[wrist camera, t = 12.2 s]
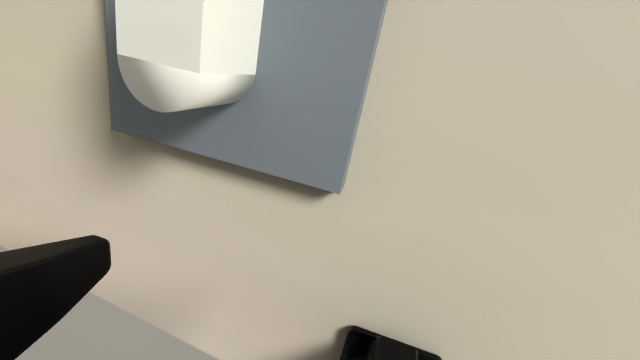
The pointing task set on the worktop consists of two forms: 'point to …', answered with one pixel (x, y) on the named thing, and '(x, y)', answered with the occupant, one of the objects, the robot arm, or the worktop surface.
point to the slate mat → (276, 95)
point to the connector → (188, 51)
